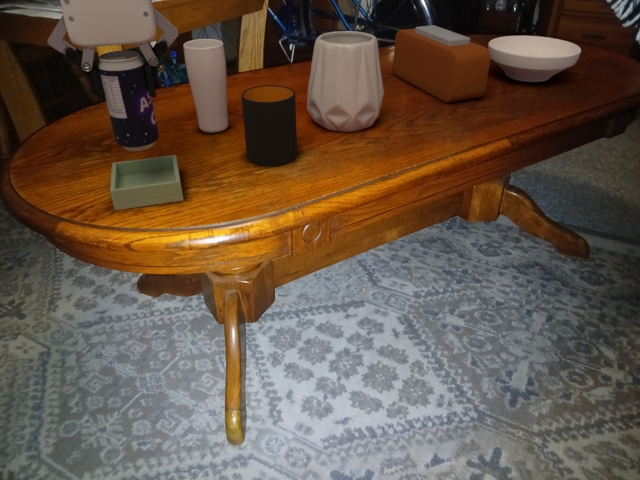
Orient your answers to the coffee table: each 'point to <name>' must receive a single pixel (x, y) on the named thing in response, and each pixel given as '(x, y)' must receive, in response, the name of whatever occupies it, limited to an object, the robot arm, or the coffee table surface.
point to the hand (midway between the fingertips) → (128, 95)
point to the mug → (270, 124)
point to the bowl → (532, 56)
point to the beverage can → (128, 99)
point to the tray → (145, 182)
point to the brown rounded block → (441, 62)
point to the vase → (345, 81)
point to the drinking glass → (208, 82)
